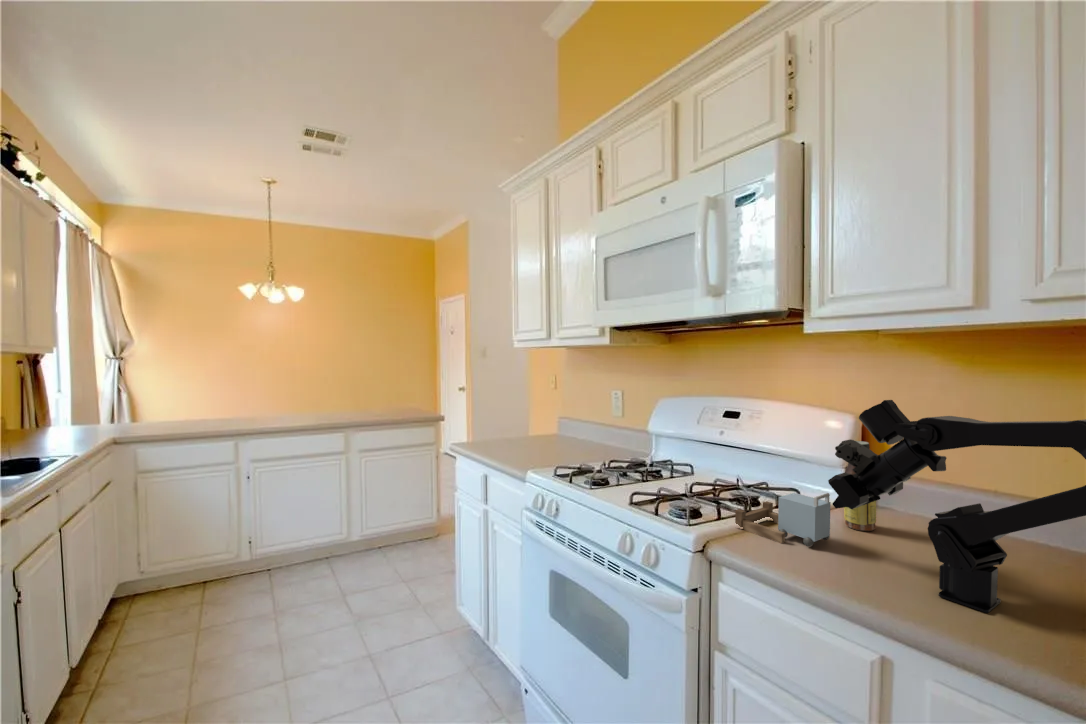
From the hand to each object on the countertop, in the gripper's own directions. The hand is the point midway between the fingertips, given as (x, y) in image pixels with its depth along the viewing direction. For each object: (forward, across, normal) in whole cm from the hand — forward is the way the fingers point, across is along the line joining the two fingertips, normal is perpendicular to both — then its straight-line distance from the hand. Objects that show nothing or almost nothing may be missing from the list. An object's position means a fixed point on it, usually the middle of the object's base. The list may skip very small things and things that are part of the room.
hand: (834, 506), depth 102 cm
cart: (+11, 0, +2) cm, 11 cm away
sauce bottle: (+9, -18, +4) cm, 20 cm away
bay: (+16, 0, -3) cm, 17 cm away
